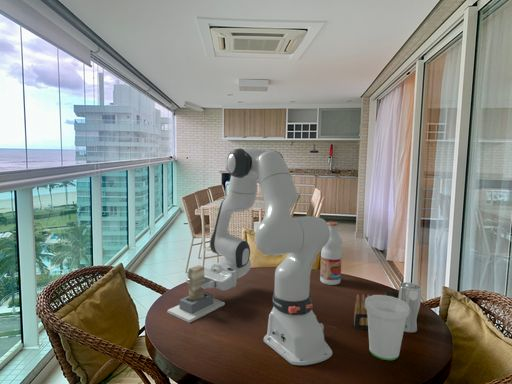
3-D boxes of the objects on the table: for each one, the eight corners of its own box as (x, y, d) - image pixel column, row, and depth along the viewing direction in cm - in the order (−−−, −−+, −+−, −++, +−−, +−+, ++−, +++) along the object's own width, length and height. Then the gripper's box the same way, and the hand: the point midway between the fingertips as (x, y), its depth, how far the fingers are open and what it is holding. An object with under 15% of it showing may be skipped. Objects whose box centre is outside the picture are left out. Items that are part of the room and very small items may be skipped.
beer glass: (405, 334, 111) (408, 291, 109) (391, 324, 117) (394, 283, 116) (423, 331, 113) (426, 289, 111) (408, 321, 119) (411, 281, 117)
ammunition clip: (354, 328, 114) (355, 294, 113) (353, 325, 116) (354, 292, 115) (386, 329, 114) (388, 295, 112) (384, 326, 116) (386, 293, 114)
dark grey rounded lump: (379, 310, 128) (380, 289, 127) (395, 307, 130) (396, 287, 129) (392, 319, 121) (393, 298, 120) (409, 316, 123) (410, 295, 122)
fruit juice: (325, 276, 163) (327, 219, 160) (343, 281, 157) (346, 222, 154) (316, 282, 155) (318, 222, 152) (335, 287, 150) (337, 225, 146)
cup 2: (411, 367, 94) (415, 315, 92) (365, 362, 96) (368, 311, 94) (400, 342, 106) (403, 296, 104) (359, 338, 108) (361, 293, 106)
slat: (204, 304, 128) (204, 267, 126) (194, 309, 124) (194, 270, 122) (198, 302, 130) (198, 265, 128) (189, 307, 126) (188, 268, 124)
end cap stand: (224, 304, 130) (224, 293, 130) (189, 322, 116) (189, 310, 116) (203, 296, 138) (202, 286, 137) (167, 312, 123) (167, 301, 123)
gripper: (202, 261, 142) (176, 269, 131) (239, 271, 130) (214, 282, 119) (202, 275, 143) (176, 285, 132) (239, 287, 130) (214, 299, 119)
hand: (194, 284), depth 125 cm, fingers open, 6 cm apart
